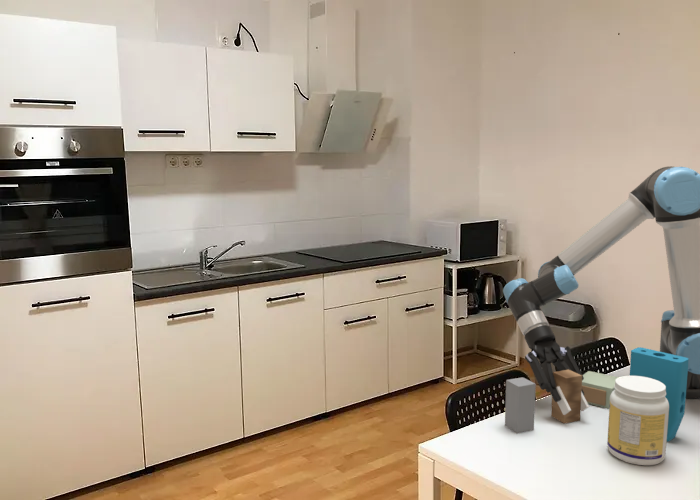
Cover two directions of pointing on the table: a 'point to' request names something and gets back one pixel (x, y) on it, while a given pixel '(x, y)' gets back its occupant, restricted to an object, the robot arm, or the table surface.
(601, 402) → the base block
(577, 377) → the walnut block
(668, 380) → the block
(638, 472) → the table surface
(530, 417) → the slate block
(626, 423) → the supplement tub
